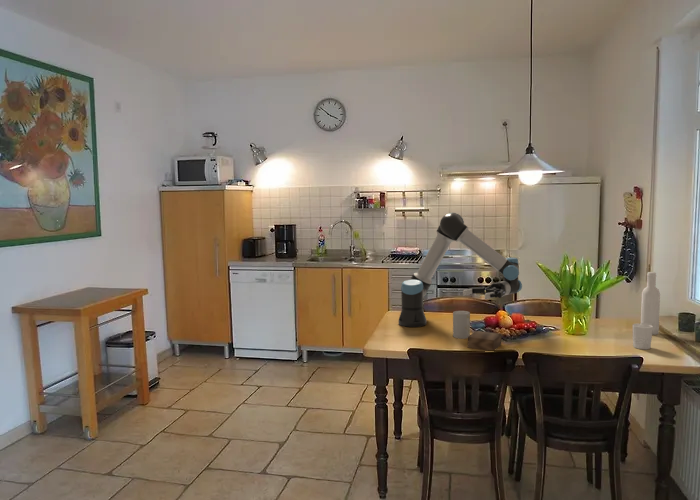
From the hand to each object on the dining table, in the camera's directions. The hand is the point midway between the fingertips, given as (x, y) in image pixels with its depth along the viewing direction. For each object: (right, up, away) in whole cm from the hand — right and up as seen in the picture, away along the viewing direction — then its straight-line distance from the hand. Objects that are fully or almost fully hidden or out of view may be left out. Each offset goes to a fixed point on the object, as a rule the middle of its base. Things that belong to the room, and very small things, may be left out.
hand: (474, 294), depth 261 cm
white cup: (+68, -21, -28) cm, 77 cm away
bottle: (+85, -19, -5) cm, 87 cm away
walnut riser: (0, -22, -21) cm, 30 cm away
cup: (-7, -20, -4) cm, 22 cm away
